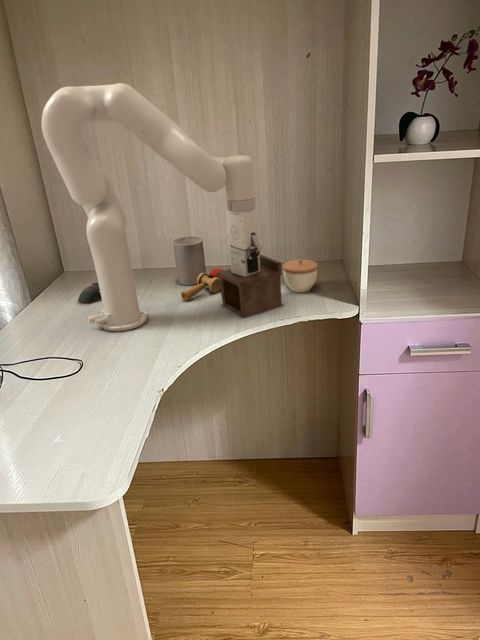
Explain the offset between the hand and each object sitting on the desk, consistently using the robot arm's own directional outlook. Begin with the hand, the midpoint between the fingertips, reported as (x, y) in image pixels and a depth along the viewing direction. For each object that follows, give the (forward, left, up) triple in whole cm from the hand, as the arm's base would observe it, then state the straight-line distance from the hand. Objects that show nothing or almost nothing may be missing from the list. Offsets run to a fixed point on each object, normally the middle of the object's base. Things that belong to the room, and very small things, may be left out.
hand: (245, 268), depth 150 cm
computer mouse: (-31, +43, -12) cm, 54 cm away
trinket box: (+20, +1, -12) cm, 23 cm away
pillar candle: (-2, +32, -12) cm, 34 cm away
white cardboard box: (0, 0, -1) cm, 1 cm away
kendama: (-4, +19, -12) cm, 23 cm away
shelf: (+1, 0, -12) cm, 12 cm away
